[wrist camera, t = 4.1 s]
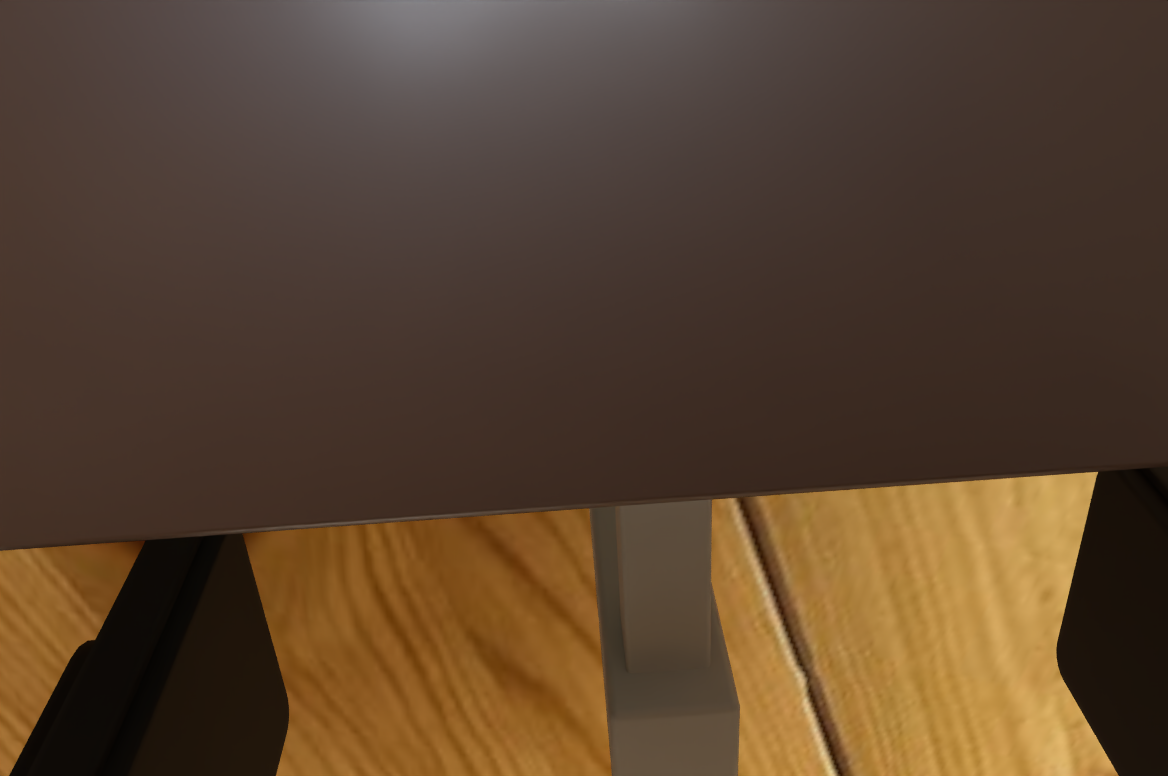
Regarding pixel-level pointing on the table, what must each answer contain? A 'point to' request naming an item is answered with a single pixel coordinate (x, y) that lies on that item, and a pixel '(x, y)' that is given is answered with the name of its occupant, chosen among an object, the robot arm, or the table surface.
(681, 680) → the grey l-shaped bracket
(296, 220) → the cabinet
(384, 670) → the table surface
